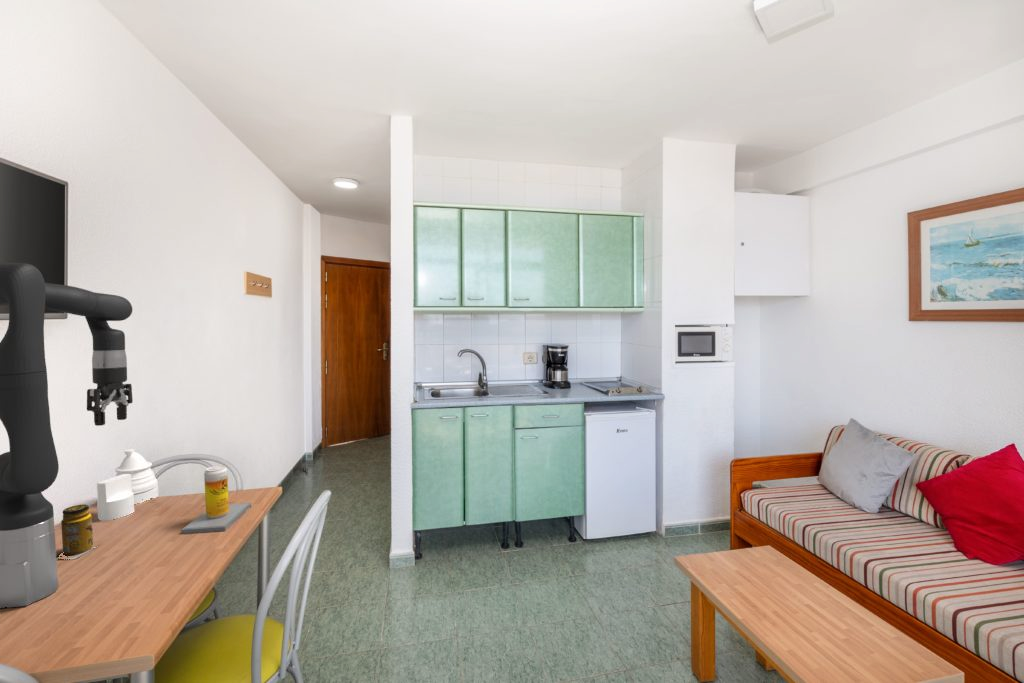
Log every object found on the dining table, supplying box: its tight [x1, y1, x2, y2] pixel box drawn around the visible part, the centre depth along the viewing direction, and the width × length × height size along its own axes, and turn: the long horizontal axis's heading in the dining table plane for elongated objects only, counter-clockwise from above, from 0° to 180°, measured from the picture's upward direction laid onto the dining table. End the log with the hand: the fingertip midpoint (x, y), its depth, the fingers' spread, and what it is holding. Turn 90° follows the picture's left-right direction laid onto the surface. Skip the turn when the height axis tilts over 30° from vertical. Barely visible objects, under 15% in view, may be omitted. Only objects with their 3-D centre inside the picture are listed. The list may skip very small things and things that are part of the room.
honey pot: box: [114, 448, 159, 505], centre depth 163 cm, size 13×13×18 cm
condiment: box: [56, 504, 97, 561], centre depth 126 cm, size 7×8×12 cm
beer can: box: [203, 464, 230, 519], centre depth 145 cm, size 6×6×15 cm
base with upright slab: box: [96, 474, 135, 522], centre depth 150 cm, size 9×9×12 cm
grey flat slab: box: [180, 502, 252, 535], centre depth 146 cm, size 18×12×1 cm, turn 7°
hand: (111, 422), depth 133 cm, fingers open, 8 cm apart
